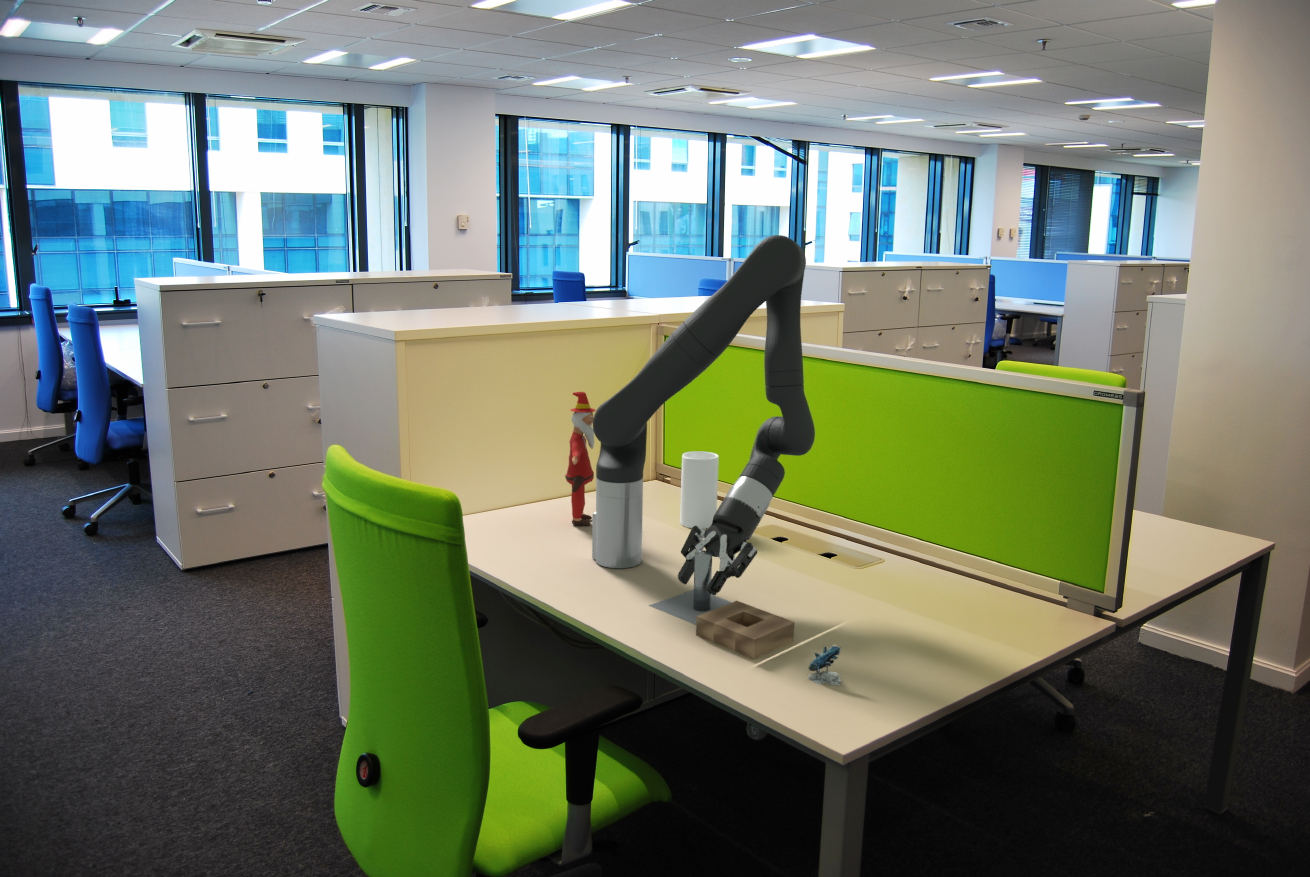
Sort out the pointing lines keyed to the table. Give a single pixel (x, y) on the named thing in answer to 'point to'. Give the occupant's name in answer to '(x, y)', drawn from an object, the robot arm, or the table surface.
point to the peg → (702, 580)
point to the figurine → (580, 457)
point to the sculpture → (822, 662)
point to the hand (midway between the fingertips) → (696, 586)
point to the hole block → (745, 629)
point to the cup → (698, 489)
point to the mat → (686, 606)
